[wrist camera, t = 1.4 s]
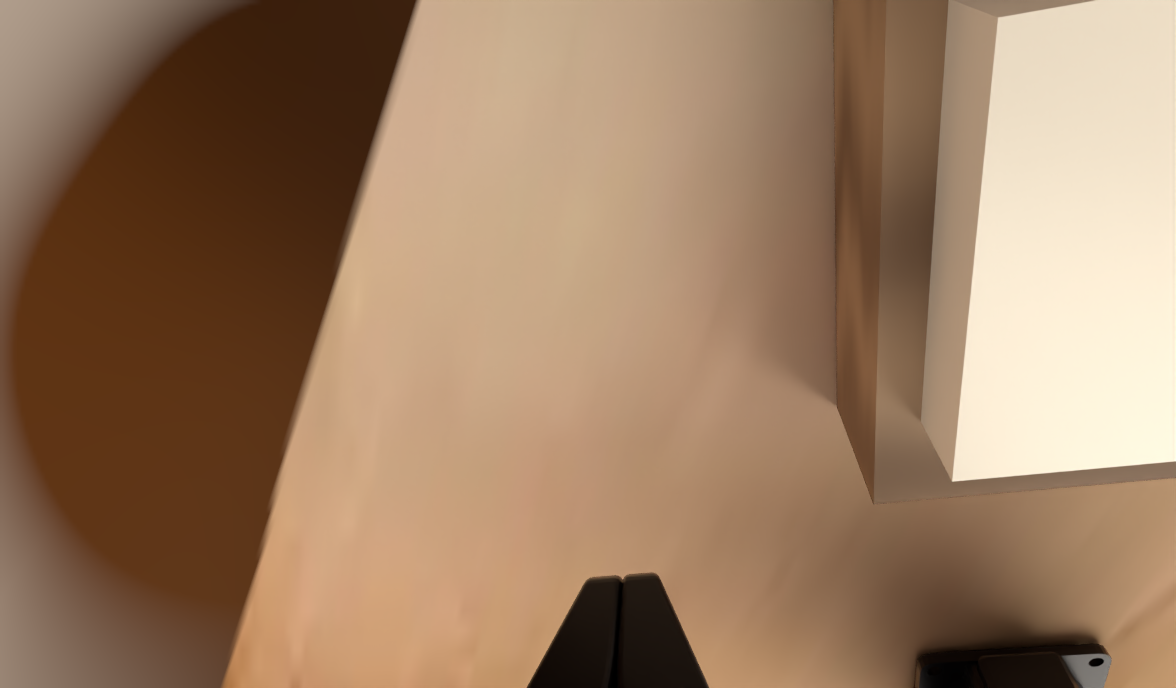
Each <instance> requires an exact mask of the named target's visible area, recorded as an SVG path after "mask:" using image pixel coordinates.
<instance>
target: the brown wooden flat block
mask: <svg viewBox="0 0 1176 688" xmlns="http://www.w3.org/2000/svg"><path fill="white" fill-rule="evenodd" d="M833 5H834V114H835V223H836V332H837V408H838V411H839V413H840V416H841V419H842V421H843V424H844V427H845V429H846V432H847V435H848V437H849V440H850V443H851V445H852V448H853V451H854V453H855V456H856V459H857V461H858V464H859V467H860V469H861V472H862V475H863V477H864V480H865V483H866V485H867V488H868V491H869V493H870V496H871V499H872V501H873V504H884V503H895V502H906V501H918V500H929V499H940V498H952V497H963V496H975V495H986V494H997V493H1009V492H1020V491H1031V490H1043V489H1054V488H1065V487H1077V486H1088V485H1100V484H1111V483H1122V482H1134V481H1145V480H1156V479H1168V478H1176V461H1174V462H1163V463H1152V464H1141V465H1130V466H1119V467H1108V468H1097V469H1086V470H1075V471H1064V472H1053V473H1042V474H1031V475H1020V476H1009V477H998V478H987V479H976V480H965V481H954V482H952V480H951V479H950V477H949V475H948V473H947V471H946V469H945V467H944V465H943V463H942V461H941V459H940V457H939V456H938V454H937V452H936V450H935V448H934V446H933V444H932V442H931V440H930V438H929V436H928V434H927V432H926V431H925V429H924V427H923V425H922V423H921V411H922V396H923V381H924V366H925V351H926V335H927V320H928V305H929V290H930V274H931V259H932V244H933V229H934V214H935V198H936V183H937V168H938V153H939V137H940V122H941V107H942V92H943V77H944V61H945V46H946V31H947V16H948V0H833Z"/></svg>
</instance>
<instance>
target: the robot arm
mask: <svg viewBox="0 0 1176 688" xmlns="http://www.w3.org/2000/svg"><path fill="white" fill-rule="evenodd" d="M1110 665H1111V657H1110V655H1109V654H1108V652H1107V650H1106V649H1105V648H1104V646H1102V645H1099V644H1081V645H1064V646H1047V647H1030V648H1013V649H996V650H979V651H961V652H944V653H930V654H925V655H923V656H921V657H920V658H919V659H918V660H917V665H916V678H915V688H1104V685H1105V681H1106V678H1107V675H1108V671H1109V668H1110ZM527 688H709V686H708V684H707V682H706V680H705V677H704V675H703V673H702V671H701V669H700V666H699V664H698V662H697V660H696V657H695V655H694V653H693V651H692V648H691V646H690V644H689V642H688V640H687V637H686V635H685V633H684V631H683V628H682V626H681V624H680V622H679V620H678V617H677V615H676V613H675V611H674V608H673V606H672V604H671V602H670V600H669V597H668V595H667V593H666V591H665V588H664V586H663V584H662V582H661V580H660V578H659V576H658V575H657V574H656V573H639V574H629V575H626V576H625V577H624V579H623V580H622V578H621V577H619V576H616V575H614V576H601V577H592V578H589V579H588V580H587V581H586V582H585V583H584V585H583V586H582V588H581V590H580V592H579V594H578V596H577V597H576V599H575V601H574V603H573V605H572V606H571V608H570V610H569V612H568V614H567V615H566V617H565V619H564V621H563V623H562V625H561V626H560V628H559V630H558V632H557V634H556V635H555V637H554V639H553V641H552V643H551V644H550V646H549V648H548V650H547V652H546V654H545V655H544V657H543V659H542V661H541V663H540V664H539V666H538V668H537V670H536V672H535V674H534V675H533V677H532V679H531V681H530V683H529V684H528V686H527Z"/></svg>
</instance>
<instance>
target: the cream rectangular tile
mask: <svg viewBox="0 0 1176 688" xmlns="http://www.w3.org/2000/svg"><path fill="white" fill-rule="evenodd" d="M921 423H922V425H923V427H924V429H925V431H926V432H927V434H928V436H929V438H930V440H931V442H932V444H933V446H934V448H935V450H936V452H937V454H938V456H939V457H940V459H941V461H942V463H943V465H944V467H945V469H946V471H947V473H948V475H949V477H950V479H951V480H952V482H954V481H965V480H976V479H987V478H998V477H1009V476H1020V475H1031V474H1042V473H1053V472H1064V471H1075V470H1086V469H1097V468H1108V467H1119V466H1130V465H1141V464H1152V463H1163V462H1174V461H1176V0H948V16H947V31H946V46H945V61H944V77H943V92H942V107H941V122H940V137H939V153H938V168H937V183H936V198H935V214H934V229H933V244H932V259H931V274H930V290H929V305H928V320H927V335H926V351H925V366H924V381H923V396H922V411H921Z"/></svg>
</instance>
